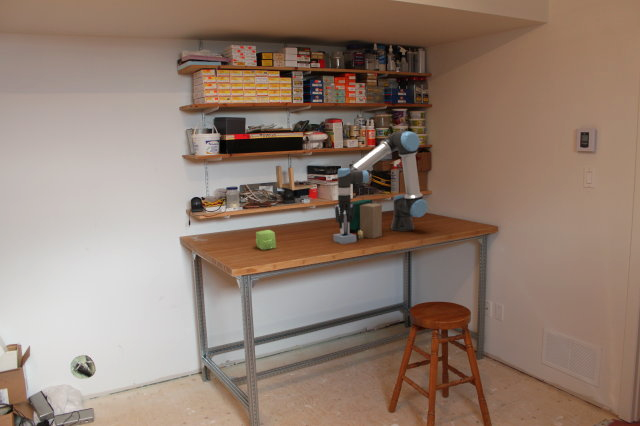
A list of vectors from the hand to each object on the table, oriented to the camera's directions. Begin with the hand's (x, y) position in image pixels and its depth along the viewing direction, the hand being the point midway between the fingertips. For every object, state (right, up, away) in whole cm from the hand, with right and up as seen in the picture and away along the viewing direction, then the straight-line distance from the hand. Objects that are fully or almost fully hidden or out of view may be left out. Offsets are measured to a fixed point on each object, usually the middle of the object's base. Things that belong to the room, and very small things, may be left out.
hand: (344, 233), depth 311 cm
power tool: (+14, 0, +32) cm, 35 cm away
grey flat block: (0, -5, +1) cm, 5 cm away
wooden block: (+17, -3, +13) cm, 22 cm away
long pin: (0, -3, +1) cm, 3 cm away
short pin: (+10, -4, +7) cm, 13 cm away
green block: (-47, -8, -10) cm, 49 cm away
